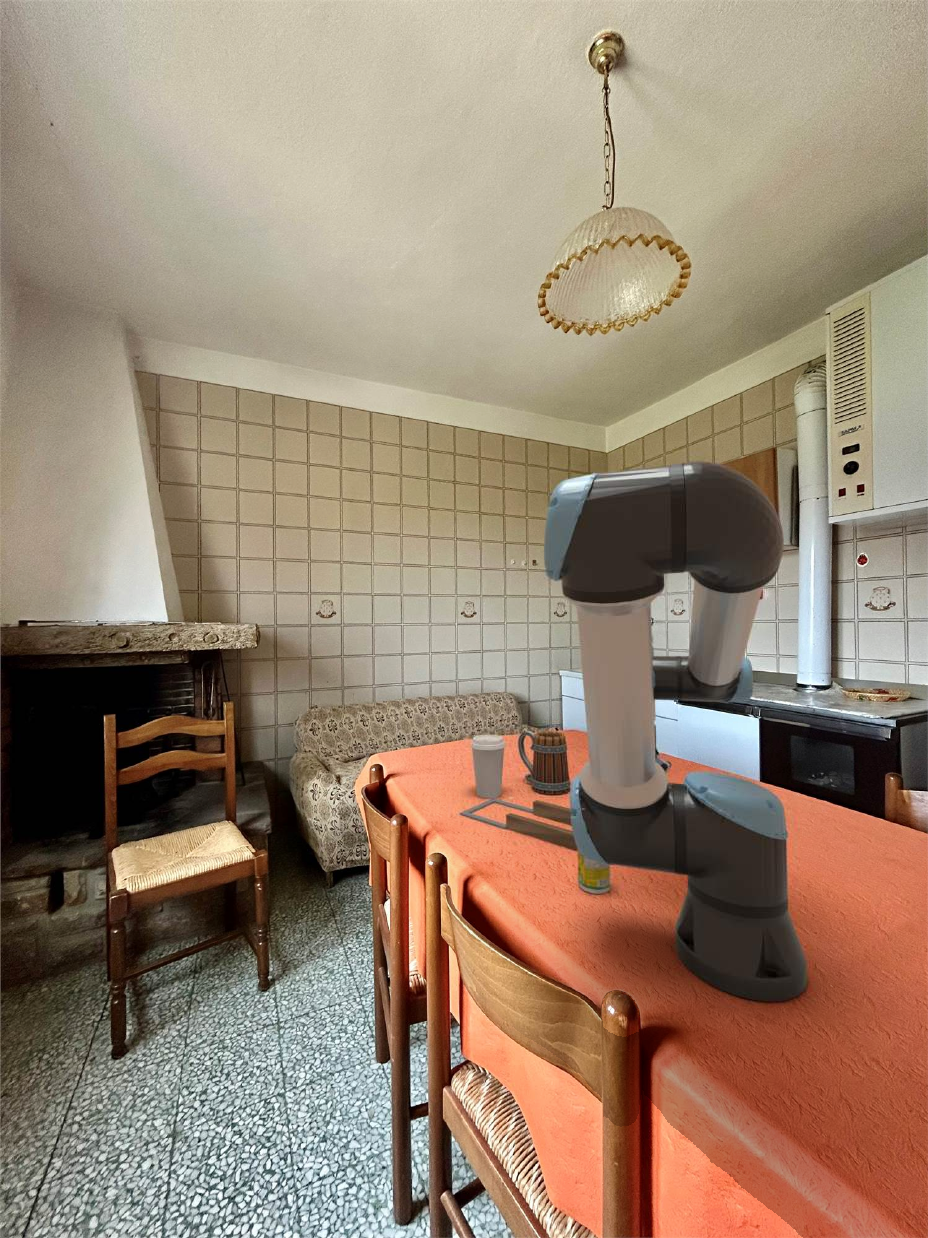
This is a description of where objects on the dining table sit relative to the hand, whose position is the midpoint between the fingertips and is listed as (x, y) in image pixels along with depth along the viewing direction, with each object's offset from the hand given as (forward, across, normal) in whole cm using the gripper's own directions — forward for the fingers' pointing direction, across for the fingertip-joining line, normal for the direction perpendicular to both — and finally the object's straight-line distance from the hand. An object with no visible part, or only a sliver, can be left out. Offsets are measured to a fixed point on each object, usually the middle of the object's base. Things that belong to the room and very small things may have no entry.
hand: (637, 843), depth 95 cm
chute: (+2, +16, 0) cm, 16 cm away
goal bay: (+2, +33, 0) cm, 33 cm away
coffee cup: (+2, +44, -8) cm, 45 cm away
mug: (+2, +36, -22) cm, 43 cm away
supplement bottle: (+2, +1, +16) cm, 16 cm away
